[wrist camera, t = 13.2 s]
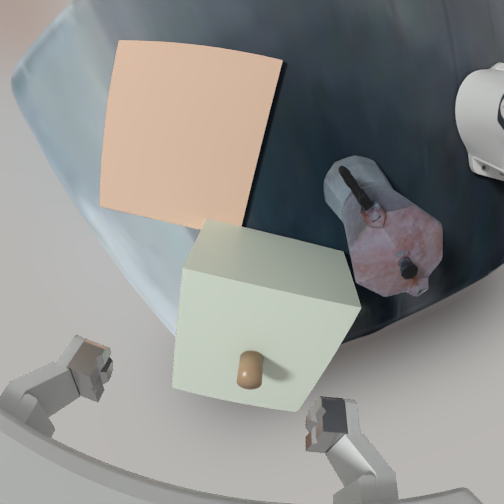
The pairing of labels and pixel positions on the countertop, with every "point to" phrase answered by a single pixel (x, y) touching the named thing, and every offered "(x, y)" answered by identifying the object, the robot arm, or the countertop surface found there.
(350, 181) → the moka pot
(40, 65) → the countertop surface
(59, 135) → the countertop surface
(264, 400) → the sage cover
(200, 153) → the peach flat square panel
